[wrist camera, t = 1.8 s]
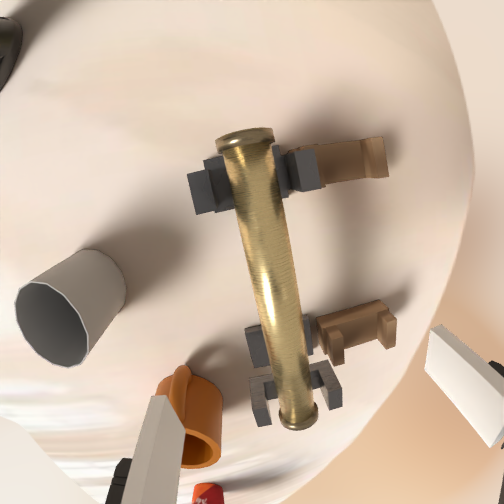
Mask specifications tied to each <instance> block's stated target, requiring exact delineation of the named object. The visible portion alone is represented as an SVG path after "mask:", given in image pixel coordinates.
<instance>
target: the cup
mask: <svg viewBox="0 0 504 504" xmlns="http://www.w3.org/2000/svg"><path fill="white" fill-rule="evenodd" d="M126 289H127V287H126V284H125V281H124V278H123V274H122V271H121V270H120V269H119V268H118V266H117V265H116V264H115V263H114V261H113V260H112V259H111V258H110V257H108V256H107V255H105V254H103V253H101V252H100V251H98V250H87V249H82V250H81V251H79V252H77V253H75V254H74V255H72V256H70V257H69V258H67V259H65V260H63V261H62V262H60V263H58V264H57V265H55V266H54V267H52V268H50V269H49V270H47V271H45V272H44V273H42V274H41V275H39V276H37V277H36V278H34V279H33V280H31V281H30V282H28V283H27V284H25V285H24V286H22V287H21V288H19V290H18V293H17V296H16V299H15V302H14V305H15V315H16V321H17V324H18V326H19V328H20V330H21V333H22V335H23V337H24V339H25V340H26V341H27V343H28V344H29V345H30V346H31V347H32V349H33V350H34V351H35V352H36V353H37V354H38V355H39V356H41V357H42V358H43V359H45V360H46V361H48V362H49V363H51V364H52V365H56V366H60V367H64V368H72V367H75V366H78V365H81V364H82V363H83V361H84V360H85V358H86V357H87V355H88V354H89V353H90V351H91V350H92V348H93V347H94V345H95V344H96V342H97V341H98V340H99V338H100V337H101V335H102V334H103V333H104V331H105V330H106V328H107V327H108V326H109V324H110V323H111V322H112V320H113V319H114V317H115V316H116V315H117V313H118V312H119V311H120V309H121V308H122V306H123V305H124V304H125V298H126Z"/></svg>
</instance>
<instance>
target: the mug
mask: <svg viewBox="0 0 504 504" xmlns="http://www.w3.org/2000/svg"><path fill="white" fill-rule="evenodd" d="M159 395H166V396H167V398H168V400H169V402H170V403H171V405H172V407H173V409H174V411H175V413H176V414H177V416H178V418H179V420H180V421H181V423H182V425H183V427H184V428H185V430H186V432H185V439H184V446H183V454H182V461H181V468H186V469H199V468H204V467H208V466H211V465H212V464H214V463H216V462H217V461H218V460H219V458H220V457H221V434H222V406H223V398H222V395H221V393H220V391H219V390H218V388H217V387H216V386H215V385H214V384H212V383H211V382H209V381H208V380H206V379H204V378H201V377H198V376H195V375H191V371H190V369H189V367H188V366H185V365H181V366H179V367H178V368H177V369H176V370H175V372H174V375H172V376H169V377H167V378H165V379H163V380H162V381H161V382H160V383H159V385H158V388H157V391H156V394H155V396H159Z"/></svg>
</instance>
